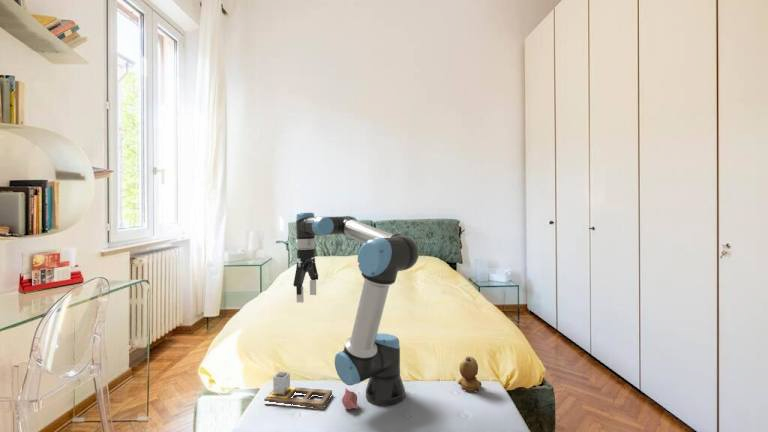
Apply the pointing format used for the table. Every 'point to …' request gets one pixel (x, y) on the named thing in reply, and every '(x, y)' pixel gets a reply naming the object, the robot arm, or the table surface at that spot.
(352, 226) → the robot arm
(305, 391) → the board
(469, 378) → the figurine
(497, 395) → the table surface
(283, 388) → the block
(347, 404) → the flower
